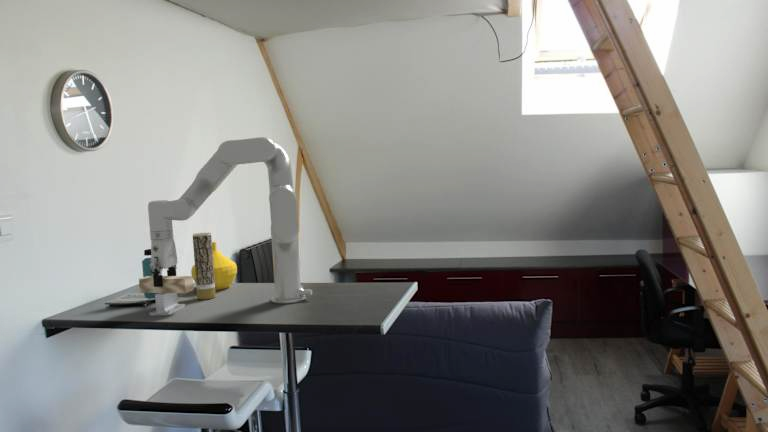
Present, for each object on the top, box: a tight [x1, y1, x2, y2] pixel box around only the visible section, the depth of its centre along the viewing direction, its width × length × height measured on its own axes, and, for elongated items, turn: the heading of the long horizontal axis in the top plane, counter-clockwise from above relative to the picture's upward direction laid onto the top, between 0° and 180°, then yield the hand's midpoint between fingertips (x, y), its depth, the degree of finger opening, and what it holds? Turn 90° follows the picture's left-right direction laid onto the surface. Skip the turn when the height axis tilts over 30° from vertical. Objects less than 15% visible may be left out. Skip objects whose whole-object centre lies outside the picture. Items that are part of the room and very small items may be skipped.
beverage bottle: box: [141, 248, 159, 300], centre depth 225 cm, size 6×7×20 cm
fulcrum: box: [149, 293, 186, 316], centre depth 208 cm, size 7×12×7 cm, turn 173°
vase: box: [190, 241, 238, 291], centre depth 243 cm, size 18×18×19 cm
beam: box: [138, 275, 195, 294], centre depth 207 cm, size 18×5×5 cm, turn 77°
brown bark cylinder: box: [192, 232, 216, 301], centre depth 225 cm, size 7×7×25 cm
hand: (165, 283), depth 207 cm, fingers open, 9 cm apart
